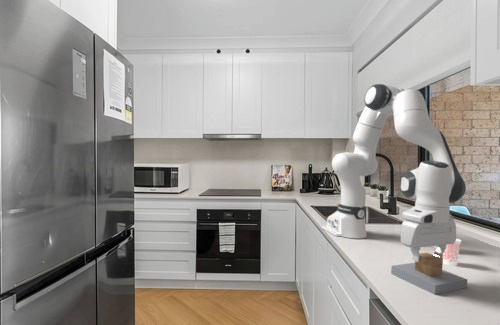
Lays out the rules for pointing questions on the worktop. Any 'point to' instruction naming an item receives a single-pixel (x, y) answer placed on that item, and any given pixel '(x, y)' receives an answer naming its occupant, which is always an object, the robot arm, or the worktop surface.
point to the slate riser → (429, 279)
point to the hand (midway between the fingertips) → (427, 259)
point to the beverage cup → (451, 253)
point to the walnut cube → (429, 264)
